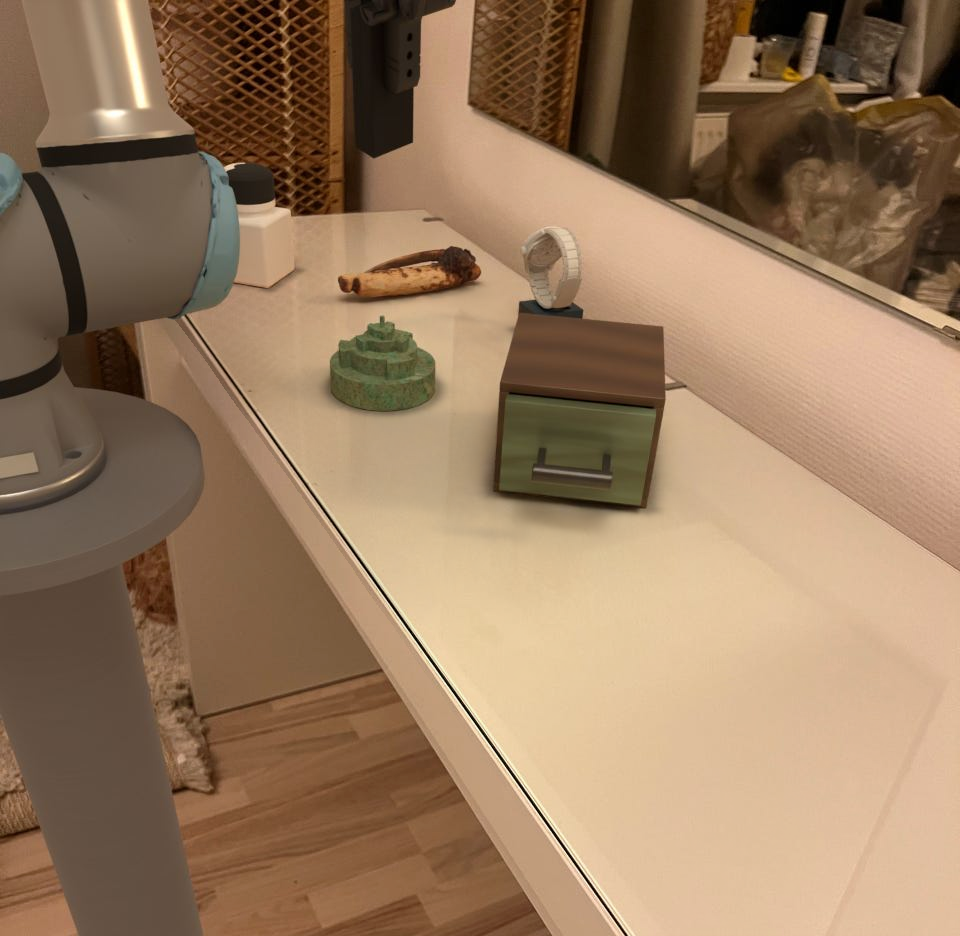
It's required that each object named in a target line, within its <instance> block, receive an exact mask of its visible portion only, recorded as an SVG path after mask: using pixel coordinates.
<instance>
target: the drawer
mask: <svg viewBox="0 0 960 936" xmlns="http://www.w3.org/2000/svg"><path fill="white" fill-rule="evenodd" d="M655 419H656V409H649V408H646V406H639V405H629V404H619V403H610V402H600V401H590V400H580V399H571V398H561V397H551V396H541V395H531V394H522V393H517V395H512V394H507V396H506V400H505V411H504V425H503V440H502V455H501V469H500V484H499V490H505V491H514V492H523V493H532V494H541V495H550V496H560V497H569V498H578V499H587V500H596V501H605V502H614V503H623V504H633V505H641V500H642V494H643V488H644V483H645V477H646V471H647V465H648V460H649V454H650V448H651V442H652V437H653V431H654V425H655Z"/></svg>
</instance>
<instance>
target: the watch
mask: <svg viewBox="0 0 960 936" xmlns="http://www.w3.org/2000/svg"><path fill="white" fill-rule="evenodd" d="M519 253H520V255H521V256H522V258H523V264H524V271H525V273H526V274H527V277H528V283H529V287H530V290H531V293H532V295H533V298H534V299H528V300H520V301H518V311H517V317H518V316H519V313H528V314H539V315H549V316H560V317H570V318H580V319H584V317H583V316H584V309H583V308H582V307H580V306H579V305H578V304H576V303H575V302H574V301H575V299H576V297H577V295H578V293H579V291H580V287H581V284H582V281H583V278H582V272H583V262H582V261H583V260H582V252H581V248H580V244H579V240H578V238H577V237H576V235H575V233H574V232H573V231H572V230H571V229H570V228H568V227H559V226H557V225H549V226H545V227H541V228H539V229H537V230H535V231H534V232H533V233H531V234H530V235H529V236H528V237H527V238H525V240H524V241H523V243H522V246H521V247H519ZM561 258H562V266H563V268H562V277H561V278H559V281H558V283H557V286H556V287H557V288H556V290H555V292H553V290H552V286H551V282H550V276H549V271H552V270H553V269H554V267H555V265H556V263H557V262H558V261H559V260H560V259H561Z"/></svg>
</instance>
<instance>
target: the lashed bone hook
mask: <svg viewBox="0 0 960 936" xmlns="http://www.w3.org/2000/svg"><path fill="white" fill-rule="evenodd" d="M429 262H430V264H425V265H418V264H423V263H429ZM476 262H477V257H475V255H473V254H472V252H471V250H469V249H468V248H464V249H463V248H462V247H459V246H453V245H450V246H448V247H447V248H446V249H445V248H440V249H429V250H423V251H418V252H414V253H410V254H406V255H401V256H398V257H395V258H392V259H390V260H386V261H384V262H382V263H379V264H377V265H375V266H373V267H371V268H369V269H367V270H366V271H364V272H359V273H345V274H342V275H338V277H337V282H338V286H339V289H340V290H341V292H343V293H345V294H350V293H351V292H353V294H355V295H357V296H359V297H365V298H374V297H375V298H376V297H384V296H385V297H386V296H391V297H397V296H405V295H413V294H415V293H424V292H426V293H428V292H433V291H437V290H443V289H447V288H450V289H451V288H457V287H458V286H461V285H464V284H466V283H468V282H473V281H476V280H478V279H479V278H480V276H481V275H482V269H481V267H480V266H479V265H478V264H477V263H476ZM414 265H415V266H414Z"/></svg>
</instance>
